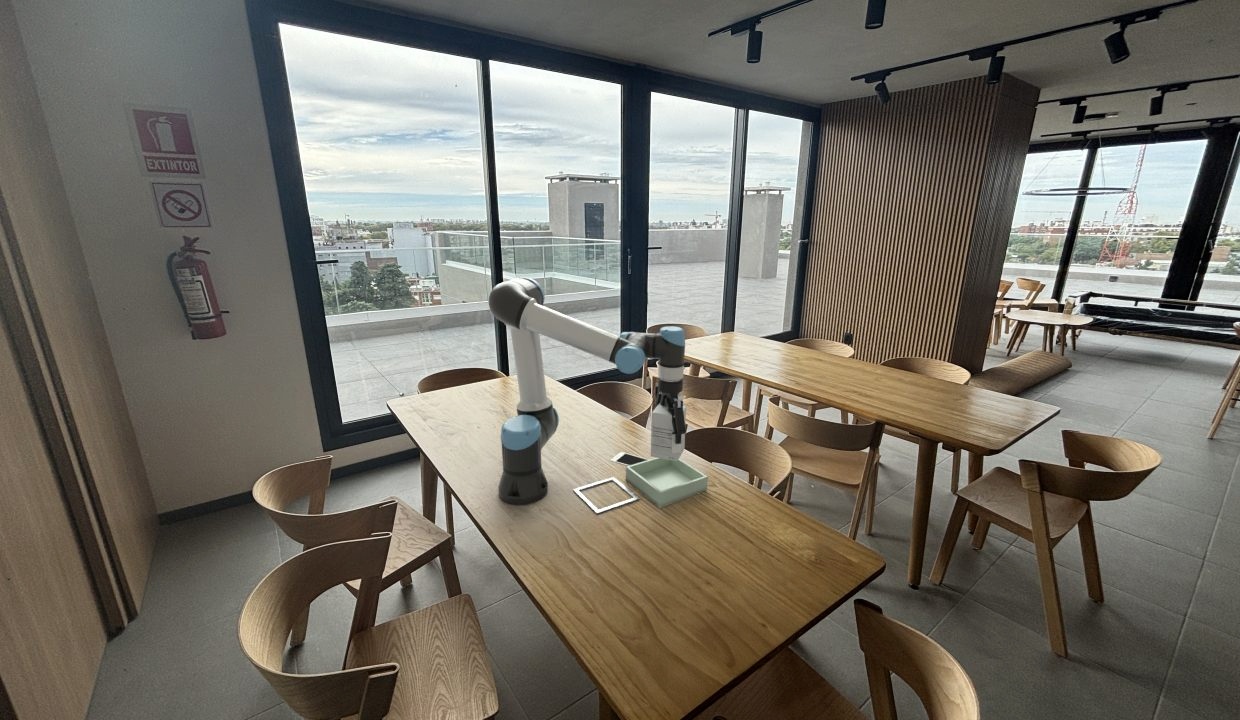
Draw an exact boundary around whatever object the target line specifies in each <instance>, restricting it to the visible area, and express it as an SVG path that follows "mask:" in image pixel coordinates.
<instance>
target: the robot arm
mask: <svg viewBox="0 0 1240 720" xmlns="http://www.w3.org/2000/svg"><path fill="white" fill-rule="evenodd" d="M545 299H546V298H545V292H544V289H543V288H542V286H541V284H540V283H539V282H538V281H536V280H535V279H533V278H530V277H525V276H523V277H519V276H518V277H515V278H512V279H510V280H506V281H502V282H501V283H497V284H496V285H495V286H494V287H493V288H492V290H491V291H490V293H489V296H488V307H489V310H490V312H491V314H492V315H493V316H494V317H495V318H496V319H497V320H498V321H500V322H501V323H504V326H506V327H508V329H510V334H511V341H512V347H513V348H512V349H513V355H514V356H513V357H514V364H515V365H514V366H515V370H516V377H517V378H516V379H517V385H518V394H519V400H520V401H519V402H518V403H517V404H516V406H515V407H516V413H517V415H516V416H514V417H510V418H508V419H507V420H505V421H504V423H503V424H502V425H501V431H500V441H501V455H502V473H501V476H500V480H499V483H498V488H497V489H498V490H497V491H498V497H499V499H500V500H501V501H503V502H505V504H510V505H516V506H523V505H528V504H529V505H530V504H534V503H536V502H538V501H540V500H542V499H544V498H545V497H546V496H547V494H548V491H549V484H548V480H547V477H546V475H545V473H544V470H543V468H542V449H543V448H544V447H545V445H546V444H547V443H548V442H549V440H550V439H551V438H552V437H553V435H554V434H555V433H556V431H557V429H558V426H559V422H560V417H559V413H558V410H557V409H556V408H555V407H554V406H553V400H552V399H550V398H549V397H548V395H547V388H546V387H547V386H546V379H545V369H544V362H543V353H542V347H541V337H540V335H542V336H544V337H546V338H549V339H552V340H555V341H557V342H559V343H562V344H564V345H567V346H569V347H571V348H575V349H577V350H579V351H582V352H585V353H586V354H589V355H590V356H591V355H592V356H594V357H597V358H599V359H601V360H604V361H606V362H608V363H609V362H610V363H612V364H615V366H616V368H617V369H618V370H619V372H621V373H624V374H627V375H631V374H635V373H637V372H638V371H639V370H640V369H641V368H642V367H643V366H644V364H645V362H646V359H658V371H657V372H658V373H657V376H658V381H657V394H656V398H655V399H656V400H655V402H654V403H655V404H654V406H653V410H654V409H655V408H656V407H657V406H658V405H659V403H660V405H661V406H664V405H665V406H667V409H668V412H670V414H671V415H672V425H673V430H674V432H672V453H679V452H681V439H682V434H685V435H686V433H687V430H686V422H685V421H684V413H683V406H684V401H683V400H679V396H678V395H679V394H680V393H681V392H683V389H684V379H683V378H684V370H685V366H684V365H685V355H686V354H685V351H686V332H685V330H684V328H682V327H680V326H674V325H673V326H662V327H661V328H660V329H659V332H656V333H650V332H649V333H648V332H639V331H638V332H637V331H636V332H635V331H623V332H621V334H619V335H617V334H613V333H612V332H609V331H606V330H604V329H601V328H599V327H597V326H594V325H591V324H589V323H587V322H584V321H582V320H579V319H576V318H574V317H571V316H569V315H566V314H564V313H561V312H559V311H557V310H554V309H552V308H550V307H547V306H544V302H545ZM672 408H674V409H672ZM673 415H675V418H674V416H673Z"/></svg>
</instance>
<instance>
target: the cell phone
mask: <svg viewBox="0 0 1240 720" xmlns="http://www.w3.org/2000/svg"><path fill="white" fill-rule="evenodd" d="M647 460H650V459H648V458H646V457H645V458H644V457H641V456H638V455H634V454H631V453H628V452H624V451H620V452H619V453H617V454H616V455H615V456H613V457H612V458H611V459H610V462H613V463H617V464H620V465H623V466H625V467H627V466H630V465H633V464H637V463H640V462H643V461H647Z"/></svg>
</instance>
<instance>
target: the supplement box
mask: <svg viewBox="0 0 1240 720" xmlns="http://www.w3.org/2000/svg"><path fill="white" fill-rule="evenodd" d="M672 409H674V408H672ZM683 413H684V421H685V423H686V421H687V420H686V417H687V406H685V405H683ZM673 416H674V418H675V415H673ZM650 432H651V434H650V457H652V458H656V457H657V458H662V459H668V460H673V461H678V460H679V458H680V459H681V456H682V454H683V452H684V451H685V445H686V444H685V443H686V442H685V441H686V440H685V439H686V434H682V439H681V452H679V453H672V432H674V430H673V425H672V415H671V414H670V412H668V409H667V406H665V405H664V406H661V405H660V403H659V405H658V406H657V407H656V408H655V409H654V408H653V411H652V412H651V428H650Z"/></svg>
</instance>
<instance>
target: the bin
mask: <svg viewBox="0 0 1240 720" xmlns="http://www.w3.org/2000/svg"><path fill="white" fill-rule="evenodd" d="M708 478H709V476H708V475H706V474H705V473H703V472H701V471H700V470H699V469H697V468H696V467H694V466H692V465H691V464H689V463H687V462H686V461H684V460H683V459H681V457H680V458H679V460H678V461H673V460H668V459H662V458H657V457H652V458H650V459H649V460H647V461H643V462H640V463H637V464H633V465H630V466H625V481H626V482H627V483H628V484H629V485H631V486H632V487H633V488H635V489H636V490H637V491H638V492H639V493H640V494H642V495H643V496H644V497H645V498H647V499H648V500H650V501H651V502H652V503H653V504H655V505H656V506H657V507H658V508H659V509H662V508H664V507H666V506H669V505H672V504H674V503H678V502H681V501H683V500H686V499H688V498H691V497H694V496H696V495H699V494H701V492H702V493H704V492H703V491H705V490H707V491H708ZM705 492H706V491H705ZM698 493H699V494H698Z"/></svg>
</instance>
